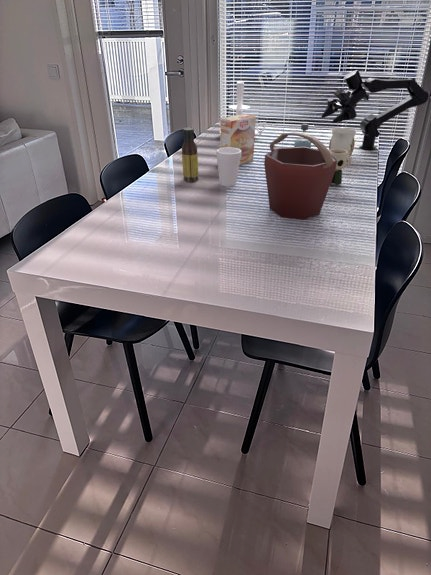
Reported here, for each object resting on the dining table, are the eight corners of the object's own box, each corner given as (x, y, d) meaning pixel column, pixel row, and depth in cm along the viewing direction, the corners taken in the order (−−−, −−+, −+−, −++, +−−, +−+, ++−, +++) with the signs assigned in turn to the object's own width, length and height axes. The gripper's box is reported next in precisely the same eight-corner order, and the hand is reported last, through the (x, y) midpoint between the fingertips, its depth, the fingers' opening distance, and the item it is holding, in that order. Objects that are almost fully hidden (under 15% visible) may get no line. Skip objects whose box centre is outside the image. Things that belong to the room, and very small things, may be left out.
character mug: (318, 185, 170) (322, 152, 163) (320, 179, 175) (324, 147, 168) (346, 188, 167) (352, 154, 160) (347, 182, 173) (353, 149, 166)
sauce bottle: (198, 177, 177) (197, 126, 166) (198, 182, 171) (197, 130, 161) (182, 177, 176) (181, 126, 166) (182, 182, 171) (180, 130, 160)
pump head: (303, 130, 207) (303, 123, 205) (309, 131, 205) (310, 124, 203) (299, 131, 205) (299, 124, 203) (305, 132, 203) (306, 125, 201)
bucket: (251, 201, 155) (255, 129, 141) (303, 193, 162) (312, 124, 149) (286, 228, 136) (295, 148, 122) (344, 217, 143) (358, 140, 130)
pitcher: (353, 155, 205) (358, 125, 198) (349, 166, 191) (355, 134, 183) (330, 153, 208) (334, 123, 201) (324, 163, 194) (329, 132, 186)
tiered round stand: (298, 146, 218) (299, 135, 215) (320, 151, 211) (322, 139, 208) (283, 151, 210) (284, 139, 207) (305, 157, 203) (307, 144, 200)
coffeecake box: (229, 167, 188) (231, 120, 177) (219, 164, 192) (219, 118, 182) (254, 161, 196) (256, 116, 186) (243, 157, 201) (245, 113, 190)
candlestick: (261, 144, 221) (265, 84, 206) (215, 141, 226) (215, 82, 211) (267, 135, 238) (271, 79, 223) (224, 132, 243) (225, 77, 228)
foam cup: (243, 182, 172) (245, 149, 165) (234, 189, 165) (235, 155, 158) (221, 178, 176) (222, 146, 168) (212, 185, 168) (212, 152, 161)
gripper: (336, 79, 205) (310, 100, 206) (360, 87, 190) (332, 110, 192) (344, 99, 212) (318, 120, 213) (367, 108, 198) (340, 130, 199)
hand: (327, 119), depth 204 cm, fingers open, 9 cm apart
